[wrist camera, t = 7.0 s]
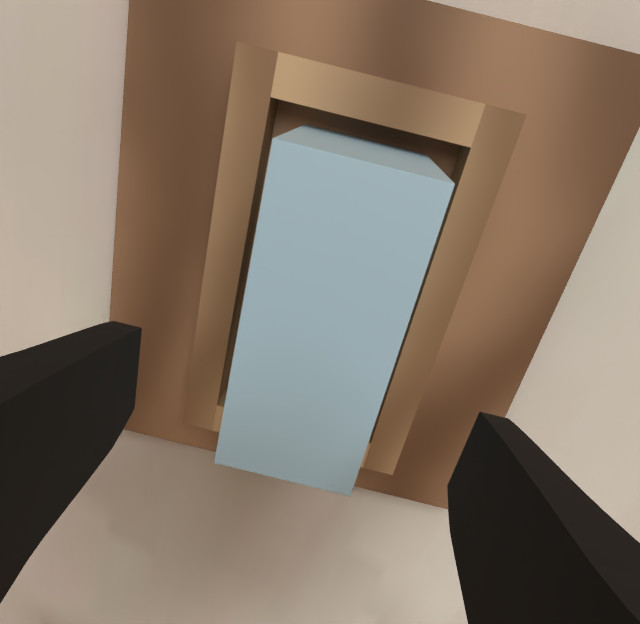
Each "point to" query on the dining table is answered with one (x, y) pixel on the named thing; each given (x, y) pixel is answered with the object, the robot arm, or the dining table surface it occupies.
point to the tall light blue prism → (327, 303)
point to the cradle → (379, 126)
